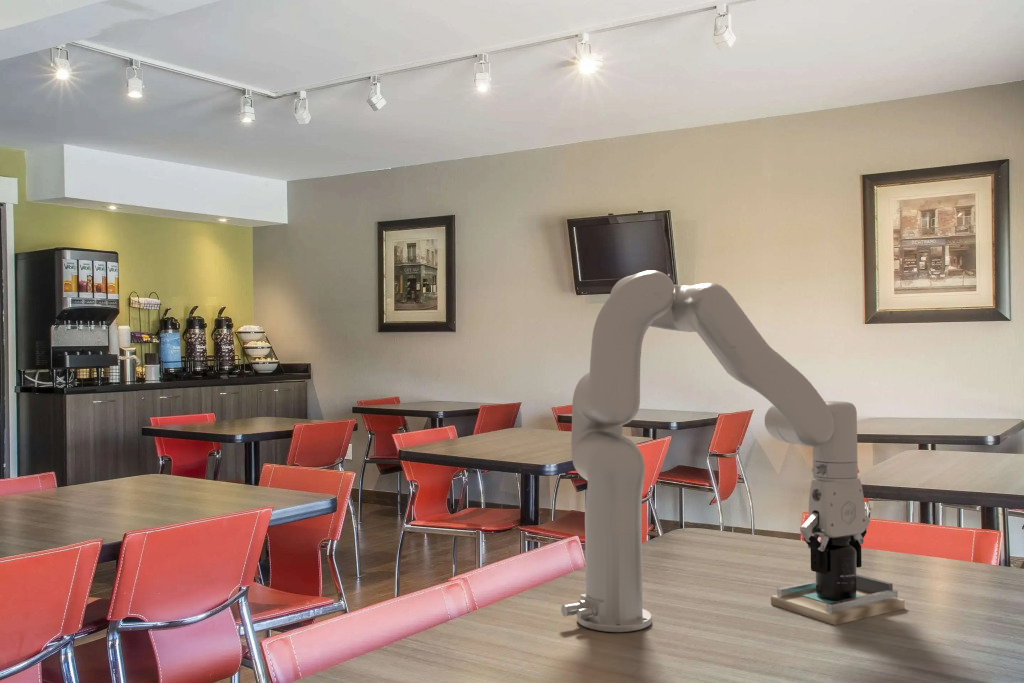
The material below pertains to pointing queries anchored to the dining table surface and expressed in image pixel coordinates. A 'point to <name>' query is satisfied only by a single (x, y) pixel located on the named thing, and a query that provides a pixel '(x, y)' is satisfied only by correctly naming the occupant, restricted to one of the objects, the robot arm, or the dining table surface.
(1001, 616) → the dining table surface
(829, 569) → the supplement bottle
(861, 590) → the board
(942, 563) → the dining table surface
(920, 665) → the dining table surface
